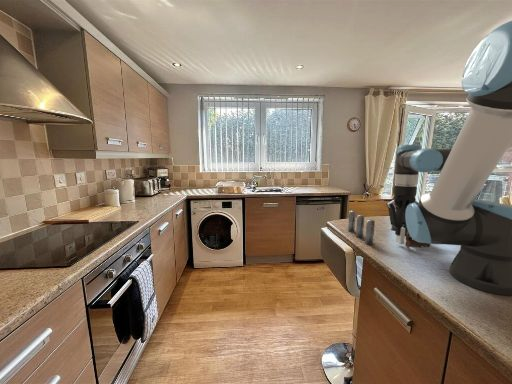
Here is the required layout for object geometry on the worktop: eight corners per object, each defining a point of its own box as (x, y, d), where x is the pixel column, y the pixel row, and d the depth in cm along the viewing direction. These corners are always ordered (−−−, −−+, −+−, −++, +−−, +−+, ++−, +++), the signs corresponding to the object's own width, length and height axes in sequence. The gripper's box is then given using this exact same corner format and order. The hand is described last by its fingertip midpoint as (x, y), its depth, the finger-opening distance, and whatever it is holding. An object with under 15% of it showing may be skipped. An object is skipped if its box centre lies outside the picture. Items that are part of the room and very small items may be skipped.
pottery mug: (438, 250, 86) (438, 235, 82) (418, 262, 86) (416, 247, 82) (412, 233, 97) (410, 219, 93) (393, 243, 96) (391, 230, 93)
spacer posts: (426, 243, 92) (428, 220, 90) (367, 245, 91) (369, 221, 89) (395, 228, 110) (397, 209, 109) (346, 230, 110) (347, 210, 108)
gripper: (414, 183, 90) (408, 239, 93) (383, 184, 89) (378, 239, 93) (429, 186, 82) (422, 246, 86) (395, 186, 82) (390, 246, 85)
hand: (399, 242), depth 89 cm, fingers closed
